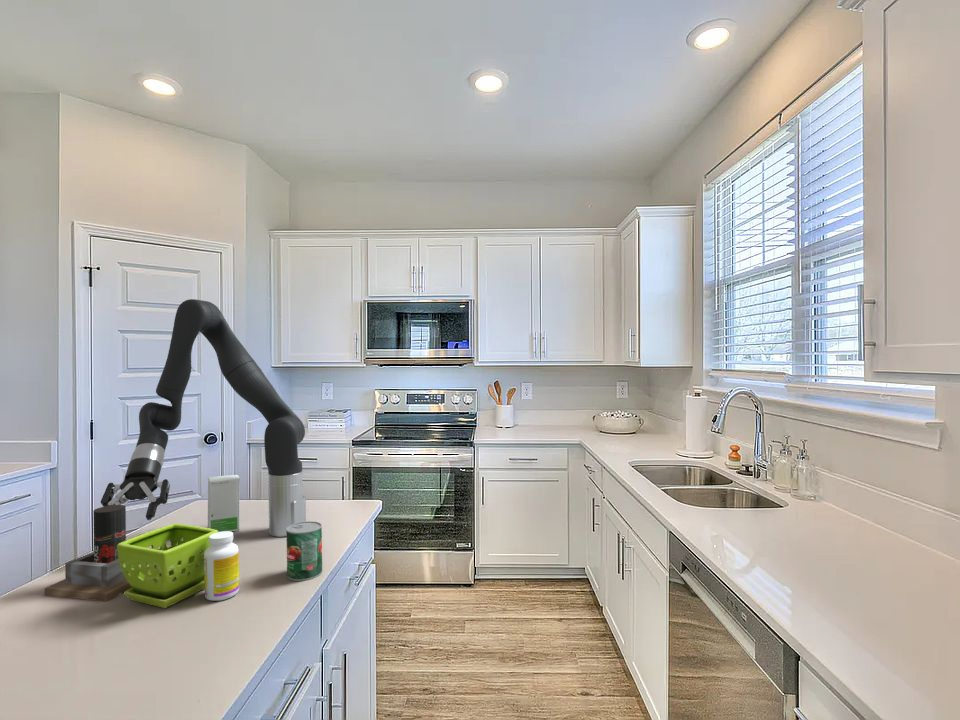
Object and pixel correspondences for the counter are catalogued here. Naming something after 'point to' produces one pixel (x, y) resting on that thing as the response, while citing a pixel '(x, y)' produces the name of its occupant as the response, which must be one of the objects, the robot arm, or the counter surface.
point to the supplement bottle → (221, 567)
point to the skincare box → (223, 503)
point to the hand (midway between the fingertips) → (128, 520)
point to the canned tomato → (304, 550)
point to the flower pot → (165, 564)
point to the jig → (91, 580)
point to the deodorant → (108, 532)
